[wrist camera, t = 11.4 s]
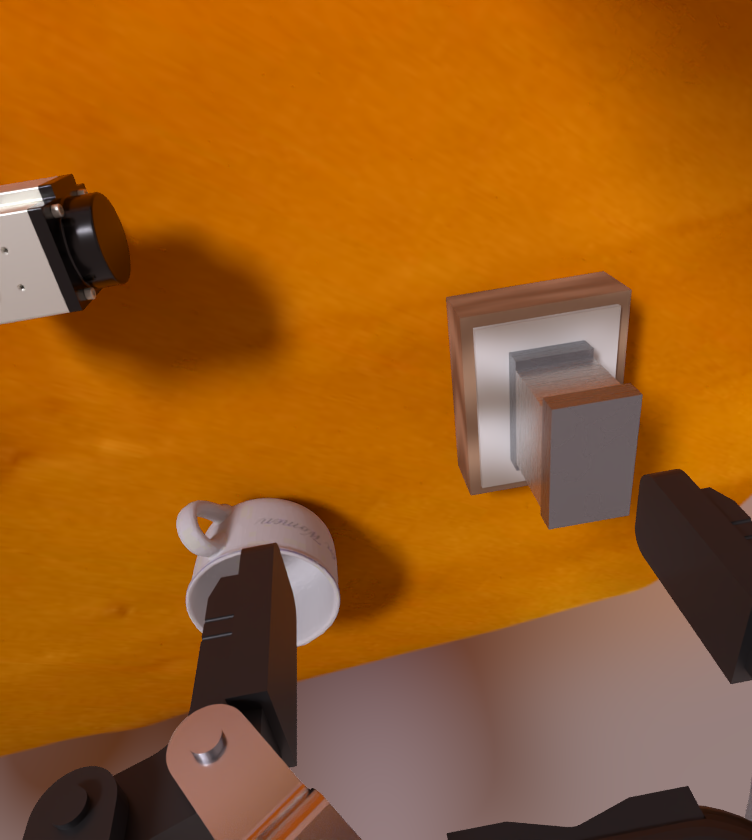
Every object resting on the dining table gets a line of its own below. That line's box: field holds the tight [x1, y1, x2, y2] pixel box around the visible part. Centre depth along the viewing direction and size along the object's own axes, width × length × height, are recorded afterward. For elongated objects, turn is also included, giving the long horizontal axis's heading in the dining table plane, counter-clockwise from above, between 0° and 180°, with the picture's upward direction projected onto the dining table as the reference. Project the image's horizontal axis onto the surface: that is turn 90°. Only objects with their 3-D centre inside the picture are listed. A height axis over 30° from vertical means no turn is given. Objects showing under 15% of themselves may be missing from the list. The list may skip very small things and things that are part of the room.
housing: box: [509, 340, 643, 529], centre depth 38 cm, size 8×5×8 cm, turn 7°
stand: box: [446, 271, 631, 495], centre depth 43 cm, size 14×11×4 cm
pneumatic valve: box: [0, 174, 130, 324], centre depth 31 cm, size 6×12×12 cm, turn 98°
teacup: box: [176, 498, 340, 647], centre depth 46 cm, size 14×11×8 cm
